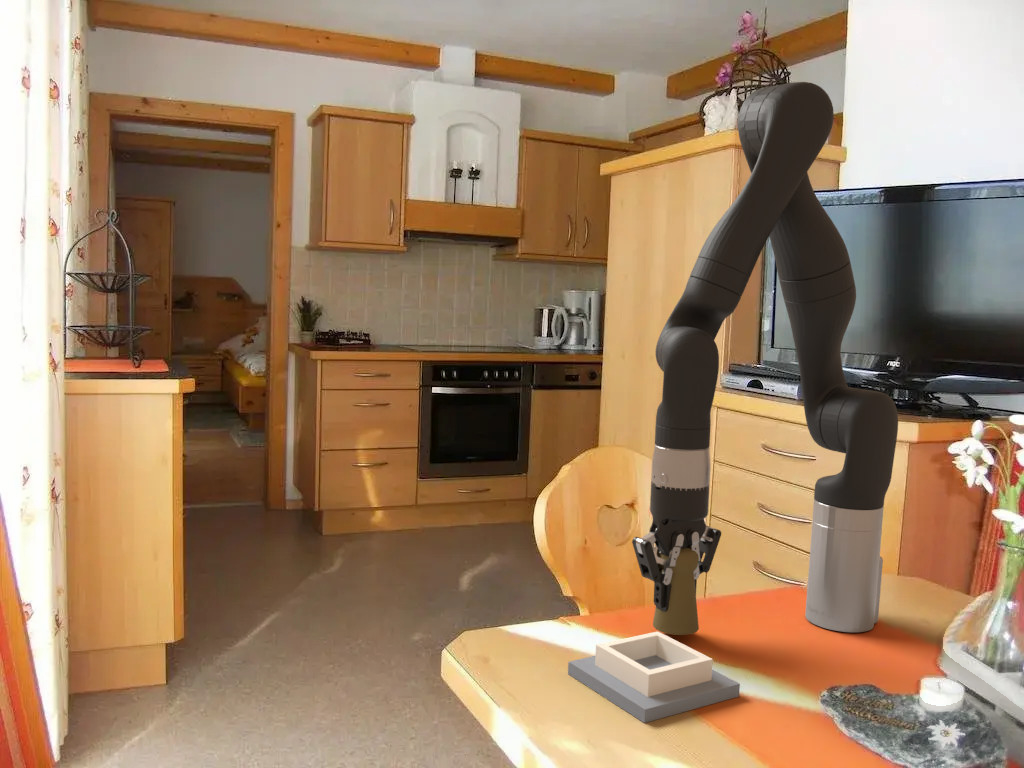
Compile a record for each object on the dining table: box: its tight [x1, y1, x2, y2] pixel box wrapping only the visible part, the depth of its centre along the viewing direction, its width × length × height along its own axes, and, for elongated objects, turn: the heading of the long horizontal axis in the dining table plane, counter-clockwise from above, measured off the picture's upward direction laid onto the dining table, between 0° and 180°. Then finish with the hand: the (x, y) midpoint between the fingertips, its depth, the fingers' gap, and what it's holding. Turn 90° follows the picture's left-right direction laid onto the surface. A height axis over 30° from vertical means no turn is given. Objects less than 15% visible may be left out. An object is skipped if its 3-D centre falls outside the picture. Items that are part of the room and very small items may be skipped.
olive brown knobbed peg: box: [652, 548, 700, 636], centre depth 123 cm, size 6×6×11 cm
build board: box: [567, 630, 741, 724], centre depth 108 cm, size 14×14×4 cm
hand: (674, 606), depth 123 cm, fingers closed on olive brown knobbed peg, 3 cm apart
